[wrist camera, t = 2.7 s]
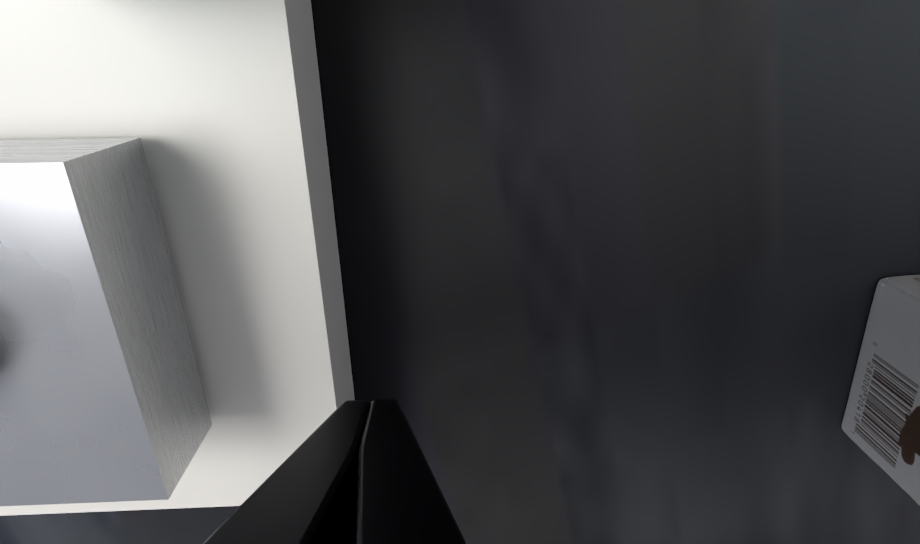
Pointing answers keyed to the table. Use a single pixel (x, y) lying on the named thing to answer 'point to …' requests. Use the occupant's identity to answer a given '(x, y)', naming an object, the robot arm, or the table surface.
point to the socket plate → (209, 201)
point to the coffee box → (890, 384)
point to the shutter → (90, 330)
